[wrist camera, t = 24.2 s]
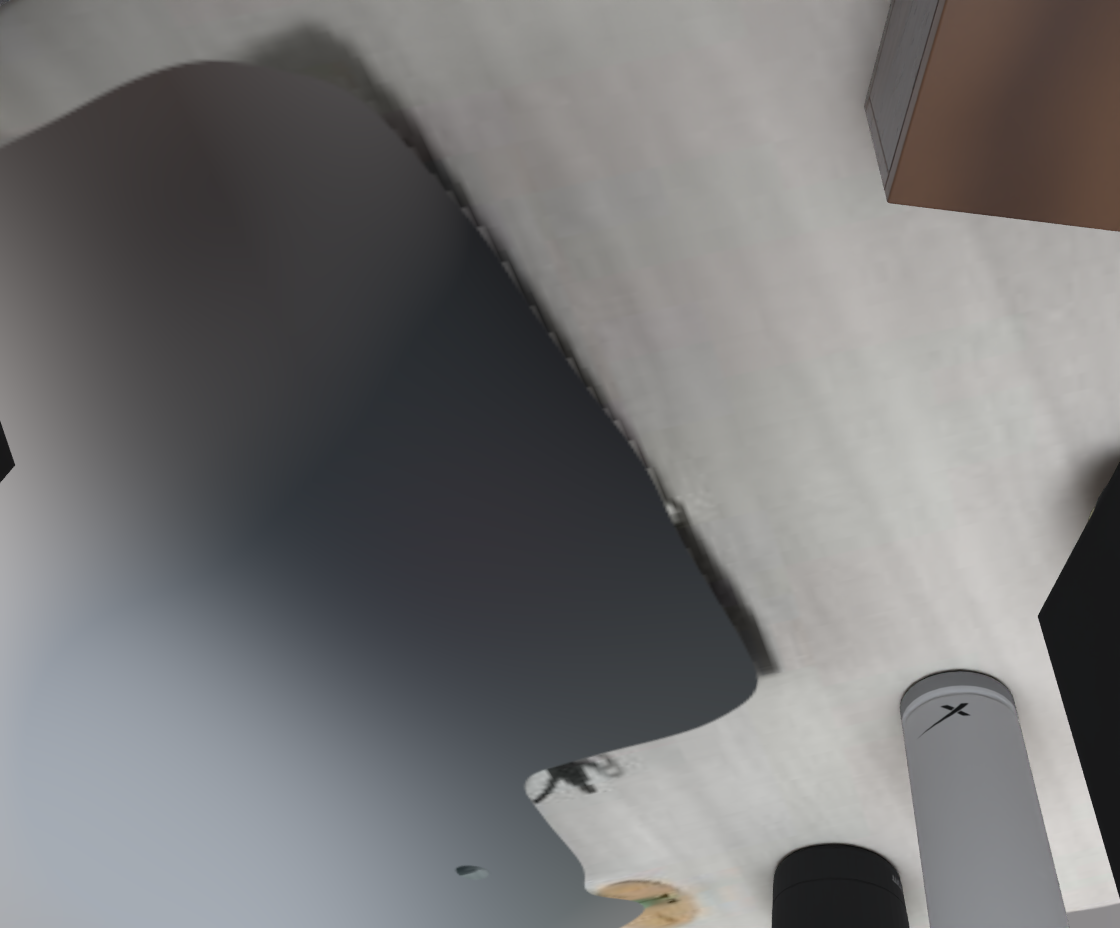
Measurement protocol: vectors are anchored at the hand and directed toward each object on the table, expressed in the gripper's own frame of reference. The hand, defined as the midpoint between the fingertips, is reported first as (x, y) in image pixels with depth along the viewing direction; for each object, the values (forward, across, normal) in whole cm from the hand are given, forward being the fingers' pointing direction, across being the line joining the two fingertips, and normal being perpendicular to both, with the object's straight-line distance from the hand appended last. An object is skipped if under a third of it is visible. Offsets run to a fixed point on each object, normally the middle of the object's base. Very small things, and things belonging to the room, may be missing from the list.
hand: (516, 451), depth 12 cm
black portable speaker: (+32, +20, -60) cm, 71 cm away
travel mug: (+32, +22, -40) cm, 56 cm away
